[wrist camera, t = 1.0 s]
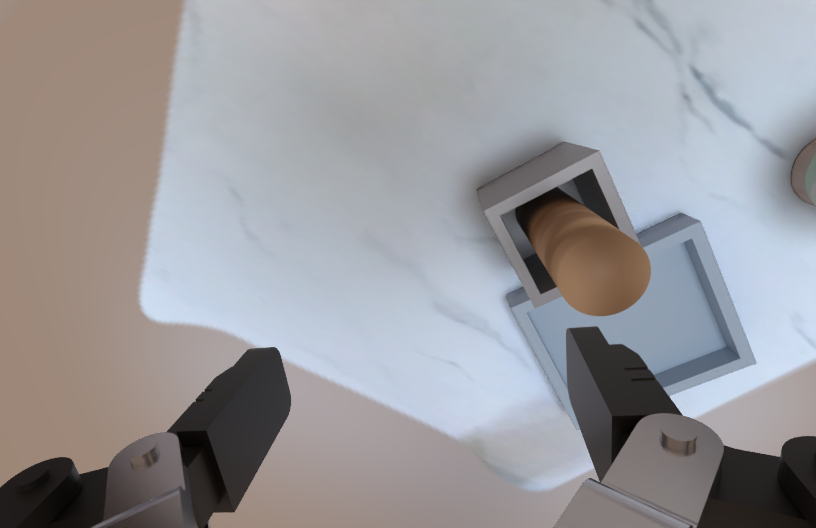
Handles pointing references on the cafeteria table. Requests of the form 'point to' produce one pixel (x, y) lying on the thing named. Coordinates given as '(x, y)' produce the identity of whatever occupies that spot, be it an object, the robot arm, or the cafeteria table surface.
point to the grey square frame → (557, 167)
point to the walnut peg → (585, 254)
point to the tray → (654, 316)
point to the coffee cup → (805, 174)
